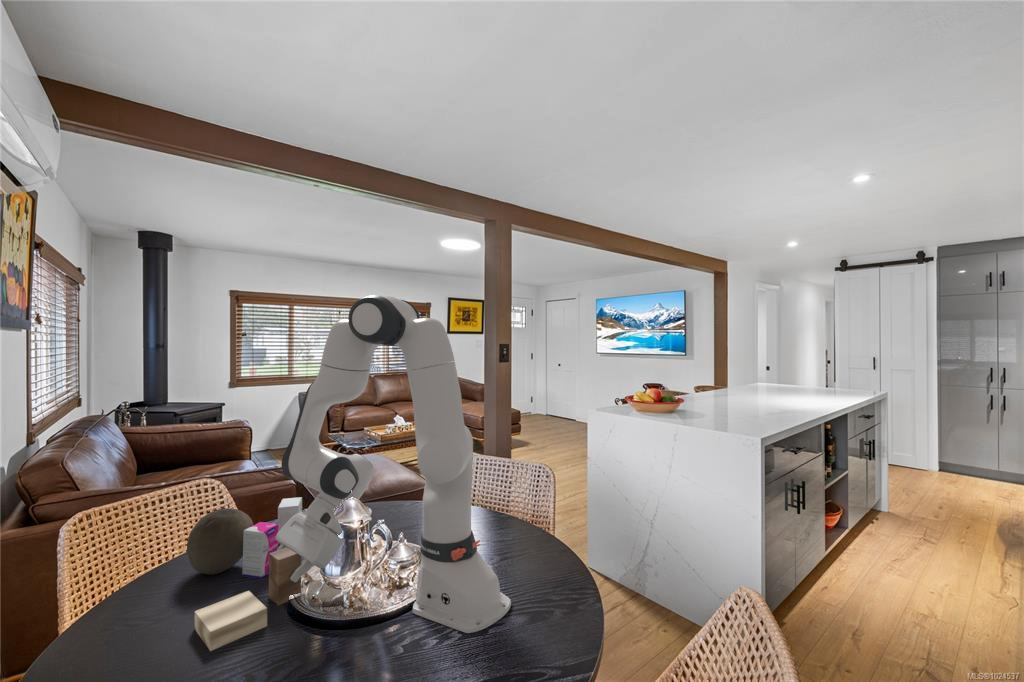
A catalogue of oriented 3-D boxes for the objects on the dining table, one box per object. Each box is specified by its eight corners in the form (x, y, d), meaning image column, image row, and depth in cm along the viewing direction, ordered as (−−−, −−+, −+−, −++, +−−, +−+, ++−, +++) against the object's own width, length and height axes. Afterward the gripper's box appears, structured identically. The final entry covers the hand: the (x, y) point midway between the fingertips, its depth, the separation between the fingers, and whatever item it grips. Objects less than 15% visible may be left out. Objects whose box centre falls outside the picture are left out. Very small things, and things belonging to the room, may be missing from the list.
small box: (282, 533, 137) (282, 498, 137) (302, 530, 139) (302, 496, 139) (277, 544, 130) (277, 507, 130) (298, 541, 131) (298, 505, 131)
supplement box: (262, 579, 111) (262, 532, 111) (241, 576, 112) (241, 530, 112) (279, 567, 116) (279, 523, 116) (259, 565, 118) (259, 521, 118)
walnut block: (301, 595, 103) (301, 552, 103) (278, 605, 100) (278, 560, 100) (291, 588, 107) (291, 545, 107) (268, 597, 103) (268, 553, 103)
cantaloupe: (217, 588, 107) (218, 524, 107) (172, 579, 110) (172, 518, 110) (265, 560, 120) (265, 504, 120) (223, 553, 124) (223, 498, 124)
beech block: (267, 627, 92) (267, 608, 92) (210, 653, 85) (210, 631, 85) (248, 608, 99) (248, 590, 99) (194, 631, 91) (194, 611, 91)
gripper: (294, 501, 115) (253, 553, 108) (336, 521, 102) (292, 582, 95) (312, 513, 119) (272, 564, 111) (354, 534, 105) (313, 594, 98)
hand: (282, 573), depth 103 cm, fingers open, 8 cm apart
